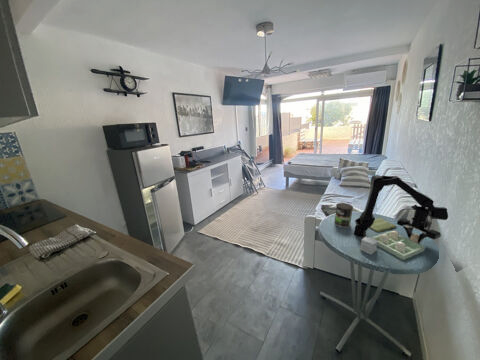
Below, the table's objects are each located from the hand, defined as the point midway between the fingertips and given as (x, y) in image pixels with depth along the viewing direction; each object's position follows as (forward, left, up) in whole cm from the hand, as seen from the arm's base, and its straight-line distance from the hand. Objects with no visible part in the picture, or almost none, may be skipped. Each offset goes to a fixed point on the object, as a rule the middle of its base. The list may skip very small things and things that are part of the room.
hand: (414, 240), depth 116 cm
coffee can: (-18, +34, -2) cm, 39 cm away
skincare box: (-30, +6, -2) cm, 31 cm away
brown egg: (0, 0, -2) cm, 2 cm away
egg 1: (-17, +6, -1) cm, 18 cm away
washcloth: (+1, +21, -2) cm, 21 cm away
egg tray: (-13, +2, -2) cm, 13 cm away
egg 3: (-17, -2, -1) cm, 17 cm away
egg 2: (-9, +6, -1) cm, 11 cm away
